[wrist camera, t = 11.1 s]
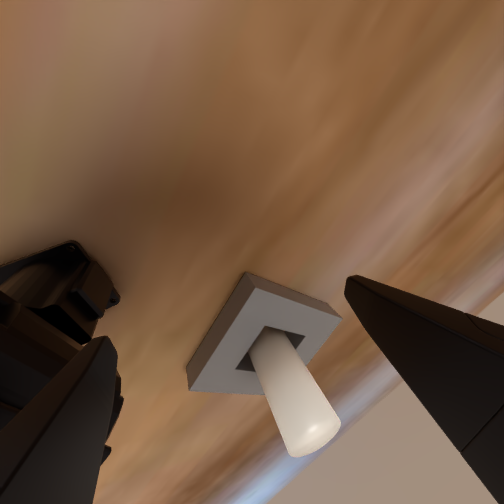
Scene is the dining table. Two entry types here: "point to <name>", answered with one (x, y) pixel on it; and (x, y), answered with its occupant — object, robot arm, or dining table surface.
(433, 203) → the dining table surface
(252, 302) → the collar block
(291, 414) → the peg
